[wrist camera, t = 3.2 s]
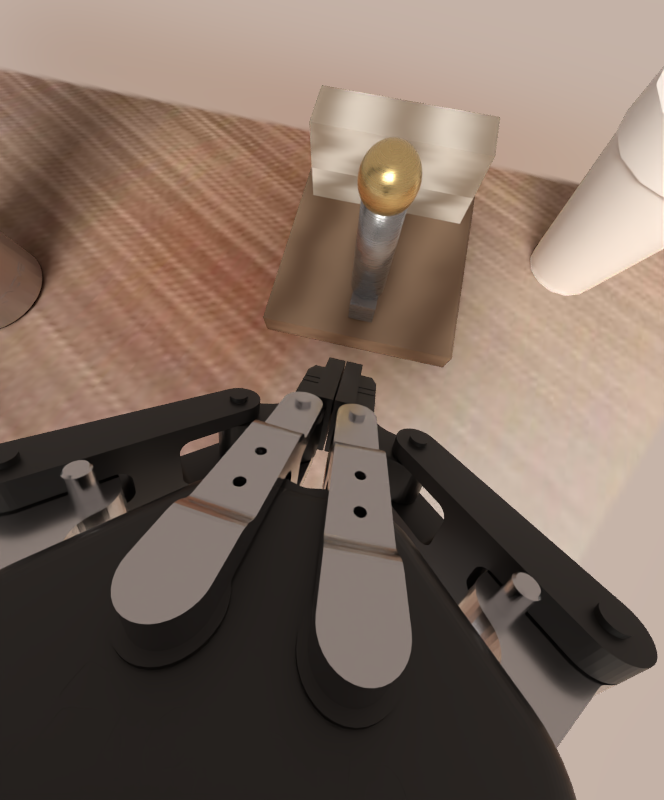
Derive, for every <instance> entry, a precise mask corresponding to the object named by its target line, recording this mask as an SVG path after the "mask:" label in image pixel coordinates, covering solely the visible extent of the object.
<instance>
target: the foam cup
mask: <svg viewBox="0 0 664 800" xmlns="http://www.w3.org/2000/svg"><path fill="white" fill-rule="evenodd" d="M662 249H664V67H663V68H662V69H661V70H660V72H659V73H658V74H657V75H656V77H655V78H654V79H653V80H652V81H651V83H650V84H649V85H648V86H647V88H646V89H645V90H644V91H643V92H642V93H641V95H640V96H639V97H638V98H637V100H636V101H635V102H634V103H633V104H632V106H631V107H630V108H629V109H628V111H627V112H626V114H625V116H624V118H623V120H622V122H621V124H620V126H619V128H618V130H617V132H616V133H615V135H614V136H613V137H612V139H611V140H610V142H609V143H608V145H607V146H606V148H605V149H604V150H603V152H602V153H601V154H600V156H599V157H598V159H597V160H596V162H595V163H594V165H593V166H592V168H591V169H590V170H589V172H588V173H587V175H586V176H585V177H584V179H583V180H582V182H581V183H580V185H579V186H578V187H577V189H576V190H575V192H574V193H573V195H572V196H571V197H570V199H569V200H568V202H567V203H566V205H565V206H564V207H563V209H562V210H561V212H560V213H559V215H558V216H557V217H556V219H555V220H554V222H553V223H552V225H551V226H550V227H549V229H548V230H547V232H546V233H545V235H544V236H543V237H542V239H541V240H540V242H539V244H538V245H537V247H536V248H535V250H534V252H533V253H532V255H531V257H530V263H531V271H532V273H533V274H534V276H535V278H536V279H537V281H538V282H539V283H540V284H541V285H543V286H544V287H545V288H547V289H548V290H549V291H551V292H554V293H558V294H561V295H565V296H567V295H577V294H581V293H582V292H584V291H587V290H589V289H590V288H592V287H594V286H596V285H598V284H600V283H601V282H603V281H605V280H607V279H609V278H611V277H613V276H614V275H616V274H618V273H620V272H622V271H624V270H625V269H627V268H629V267H631V266H633V265H635V264H637V263H638V262H640V261H642V260H644V259H646V258H648V257H649V256H651V255H653V254H655V253H657V252H659V251H660V250H662Z"/></svg>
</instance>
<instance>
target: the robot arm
mask: <svg viewBox="0 0 664 800" xmlns="http://www.w3.org/2000/svg"><path fill="white" fill-rule="evenodd" d="M41 285H42V270H41V268H40V265H39V263H38V261H37V260H36V259H35V257H34V256H32V255H31V254H30V253H29V252H27V251H26V250H25V249H23V248H22V247H21V246H19V245H18V244H16V243H15V242H14V241H12V240H11V239H10V238H8V237H7V236H6V235H4V234H3V233H2V232H0V328H3V327H5V326H7V325H9V324H11V323H12V322H14V321H16V320H17V319H18V318H20V317H21V316H22V315H24V313H25V312H26V311H27V310H28V309H29V308H30V307H31V306H32V305H33V303H34V302H35V300H36V299H37V297H38V294H39V292H40V289H41ZM345 362H346V361H343V360H339V359H334V358H329V360H328V362H327V365H326V367H321V366H317V365H315V366H313V367H311V368H309V369H308V371H307V373H306V375H305V376H304V378H303V380H302V382H301V383H300V385H299V387H298V389H297V390H296V392H293V393H290V394H288V395H286V396H285V397H284V398H283V400H282V401H281V402H280V403H279V404H261V403H260V397H259V395H258V394H257V393H255V392H254V391H251V390H248V389H243V388H233V389H228V390H224V391H220V392H215V393H211V394H207V395H203V396H198V397H194V398H190V399H186V400H182V401H177V402H173V403H169V404H165V405H161V406H156V407H152V408H148V409H144V410H140V411H135V412H131V413H127V414H123V415H118V416H114V417H110V418H106V419H102V420H97V421H93V422H89V423H85V424H81V425H76V426H72V427H68V428H64V429H60V430H55V431H51V432H47V433H43V434H38V435H34V436H30V437H26V438H22V439H17V440H13V441H9V442H5V443H1V444H0V800H576V797H575V793H574V790H573V787H572V784H571V782H570V778H569V776H568V774H567V771H566V769H565V766H564V763H563V761H562V759H561V757H560V755H559V753H558V750H557V747H558V746H559V744H560V743H561V741H562V740H563V738H564V737H565V736H566V734H567V733H568V731H569V730H570V729H571V727H572V726H573V724H574V723H575V721H576V720H577V719H578V717H579V716H580V714H581V713H582V711H583V710H584V709H585V707H586V706H587V704H588V703H589V702H590V700H591V699H592V697H594V696H596V695H598V694H600V693H602V692H604V691H606V690H607V689H609V688H611V687H613V686H615V685H617V684H619V683H621V682H623V681H625V680H627V679H629V678H631V677H633V676H635V675H637V674H639V673H641V672H643V671H645V670H647V669H649V668H651V667H652V666H654V665H655V663H656V662H657V651H656V647H655V644H654V642H653V640H652V638H651V636H650V634H649V633H648V631H647V629H646V628H645V627H644V625H643V624H642V623H641V622H640V620H639V619H638V618H637V617H636V616H635V615H634V614H633V613H632V611H630V610H629V609H628V608H627V607H626V606H625V605H624V604H623V603H621V601H619V600H618V599H617V598H616V597H615V596H614V595H612V594H611V593H610V592H609V591H608V590H607V589H606V588H604V587H603V586H602V585H601V584H600V583H599V582H598V581H596V580H595V579H594V578H593V577H592V576H591V575H590V574H588V573H587V572H586V571H585V570H584V569H583V568H582V567H580V566H579V565H578V564H577V563H576V562H575V561H573V560H572V559H571V558H570V557H569V556H568V555H567V554H565V553H564V552H563V551H562V550H561V549H560V548H559V547H557V546H556V545H555V544H554V543H553V542H552V541H550V540H549V539H548V538H547V537H546V536H545V535H544V534H542V533H541V532H540V531H539V530H538V529H537V528H536V527H534V526H533V525H532V524H531V523H530V522H529V521H527V520H526V519H525V518H524V517H523V516H522V515H521V514H519V513H518V512H517V511H516V510H515V509H514V508H513V507H511V506H510V505H509V504H508V503H507V502H506V501H505V500H503V499H502V498H501V497H500V496H499V495H498V494H496V493H495V492H494V491H493V490H492V489H491V488H490V487H488V486H487V485H486V484H485V483H484V482H483V481H482V480H480V479H479V478H478V477H477V476H476V475H475V474H473V473H472V472H471V471H470V470H469V469H468V468H467V467H465V466H464V465H463V464H462V463H461V462H460V461H459V460H457V459H456V458H455V457H454V456H453V455H452V454H450V453H449V452H448V451H447V450H446V449H445V448H444V447H442V446H441V445H440V444H439V443H438V442H437V441H436V440H434V439H433V438H432V437H431V436H429V435H428V434H426V433H424V432H422V431H419V430H416V429H403V430H400V431H399V432H398V433H397V435H395V434H393V433H391V432H388V431H386V430H385V429H383V428H382V427H381V426H379V425H378V424H377V418H376V415H375V414H374V407H375V393H376V392H375V391H376V383H375V382H374V380H373V379H372V378H370V377H365V376H361V371H362V366H363V365H361V364H357V363H352V362H348V361H347V363H346V366H345ZM344 367H345V369H344ZM217 432H219V443H217V444H214V445H212V446H209V447H206V448H203V449H200V450H197V451H195V452H192V453H189V454H186V455H183V456H180V451H181V449H182V447H183V446H184V445H185V444H187V443H188V442H190V441H193V440H196V439H199V438H202V437H205V436H208V435H211V434H214V433H217ZM327 434H328V436H327ZM326 437H327V441H326ZM325 441H326V446H325V450H324V451H327V452H329V453H328V458H327V462H326V466H325V472H324V479H323V486H322V489H310V488H304V487H302V485H303V483H304V480H305V478H306V476H307V474H308V471H309V469H310V467H311V464H312V460H313V457H314V456H315V453H316V450H317V449H319V450H323V448H324V444H325ZM422 486H423V487H424V488H425V489H426V490H427V491H428V492H429V493H430V494H431V496H432V497H433V498H434V499H435V500H436V501H437V502H438V503H439V504H440V506H441V507H442V509H443V512H444V519H443V518H442V517H441V516H440V515H439V514H438V513H437V512H436V511H435V509H434V508H433V507H432V506H431V505H430V504H429V503H428V502H427V501H426V500H425V498H424V497H423V496H422V495H421V494H420V493H419V492H420V490H421V487H422Z"/></svg>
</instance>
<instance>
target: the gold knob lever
mask: <svg viewBox="0 0 664 800" xmlns="http://www.w3.org/2000/svg"><path fill="white" fill-rule="evenodd" d="M421 182H422V164H421V159H420V157H419V154H418V152H417V151H416V149H415V148H414V146H413V145H412V144H411V143H409V142H408V141H406V140H404V139H402V138H398V137H389V138H385V139H383V140H380V141H378V142H377V143H376V144H374V145H373V146H372V147H371V148H370V149H369V150H368V151H367V153H366V154H365V156H364V158H363V160H362V162H361V164H360V167H359V171H358V178H357V185H358V192H359V195H360V198H361V203H360V212H359V220H358V229H357V238H356V246H355V255H354V263H353V272H352V281H351V287H352V290H353V293H352V297H351V301H350V307H349V315H348V318H353V319H358V320H362V321H367V322H372V320H373V316H374V313H375V309H376V304H377V300H378V296H379V295H380V294H381V293H382V292H383V290H384V287H385V283H386V280H387V276H388V273H389V270H390V266H391V263H392V259H393V256H394V253H395V249H396V246H397V243H398V239H399V236H400V232H401V229H402V226H403V222H404V219H405V216H406V212H407V209H408V207H409V206H410V205H411V204H412V202H413V201H414V199H415V198H416V196H417V194H418V192H419V189H420V186H421Z"/></svg>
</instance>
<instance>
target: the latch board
mask: <svg viewBox="0 0 664 800" xmlns="http://www.w3.org/2000/svg"><path fill="white" fill-rule="evenodd" d="M499 121H500V117H496V116H490V115H485V114H479V113H474V112H468V111H462V110H457V109H451V108H446V107H440V106H435V105H429V104H424V103H418V102H412V101H407V100H401V99H396V98H390V97H384V96H379V95H373V94H367V93H362V92H356V91H351V90H345V89H339V88H334V87H328V86H323V85H322V86H321V89H320V92H319V95H318V98H317V101H316V104H315V107H314V110H313V113H312V116H311V119H310V122H309V125H310V143H311V161H312V167H311V170H310V174H309V177H308V180H307V183H306V186H305V189H304V192H303V195H302V198H301V201H300V205H299V208H298V211H297V214H296V217H295V220H294V223H293V226H292V229H291V232H290V236H289V239H288V242H287V245H286V248H285V251H284V254H283V257H282V260H281V263H280V267H279V270H278V273H277V276H276V279H275V282H274V285H273V288H272V291H271V295H270V298H269V301H268V304H267V307H266V310H265V313H264V316H263V318H264V321H265V323H266V326H267V328H268V329H271V330H276V331H280V332H285V333H289V334H294V335H298V336H303V337H307V338H312V339H317V340H321V341H326V342H330V343H335V344H339V345H344V346H348V347H353V348H358V349H362V350H367V351H371V352H376V353H380V354H385V355H389V356H394V357H399V358H403V359H408V360H412V361H417V362H421V363H426V364H430V365H435V366H440V367H443V366H444V365H445V364H446V363H447V362H448V361H449V360H450V359H451V358H452V351H453V344H454V337H455V331H456V324H457V317H458V310H459V303H460V296H461V289H462V282H463V275H464V268H465V261H466V254H467V247H468V240H469V233H470V226H471V219H472V212H473V205H474V198H475V194H476V192H477V190H478V188H479V186H480V184H481V182H482V180H483V179H484V177H485V175H486V173H487V171H488V169H489V167H490V165H491V163H492V161H493V159H494V157H495V153H496V144H497V138H498V129H499ZM389 137H398V138H402V139H404V140H406V141H408V142H409V143H411V144H412V145H413V146H414V148H415V149H416V151H417V152H418V154H419V157H420V159H421V164H422V182H421V186H420V189H419V192H418V194H417V196H416V198H415V199H414V201H413V202H412V204H411V205H410V206H409V207H408V209H407V212H406V216H405V219H404V222H403V226H402V229H401V232H400V236H399V239H398V243H397V246H396V249H395V253H394V256H393V259H392V263H391V266H390V270H389V273H388V276H387V280H386V283H385V287H384V290H383V292H382V293H381V294H380V295H379V296H378V300H377V304H376V309H375V313H374V316H373V320H372V322H367V321H362V320H358V319H353V318H348V315H349V307H350V301H351V297H352V293H353V290H352V287H351V281H352V272H353V263H354V255H355V246H356V238H357V229H358V220H359V212H360V203H361V198H360V195H359V192H358V185H357V178H358V171H359V167H360V164H361V162H362V160H363V158H364V156H365V154H366V153H367V151H368V150H369V149H370V148H371V147H372V146H373V145H374V144H376V143H377V142H378V141H380V140H383V139H385V138H389Z"/></svg>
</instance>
